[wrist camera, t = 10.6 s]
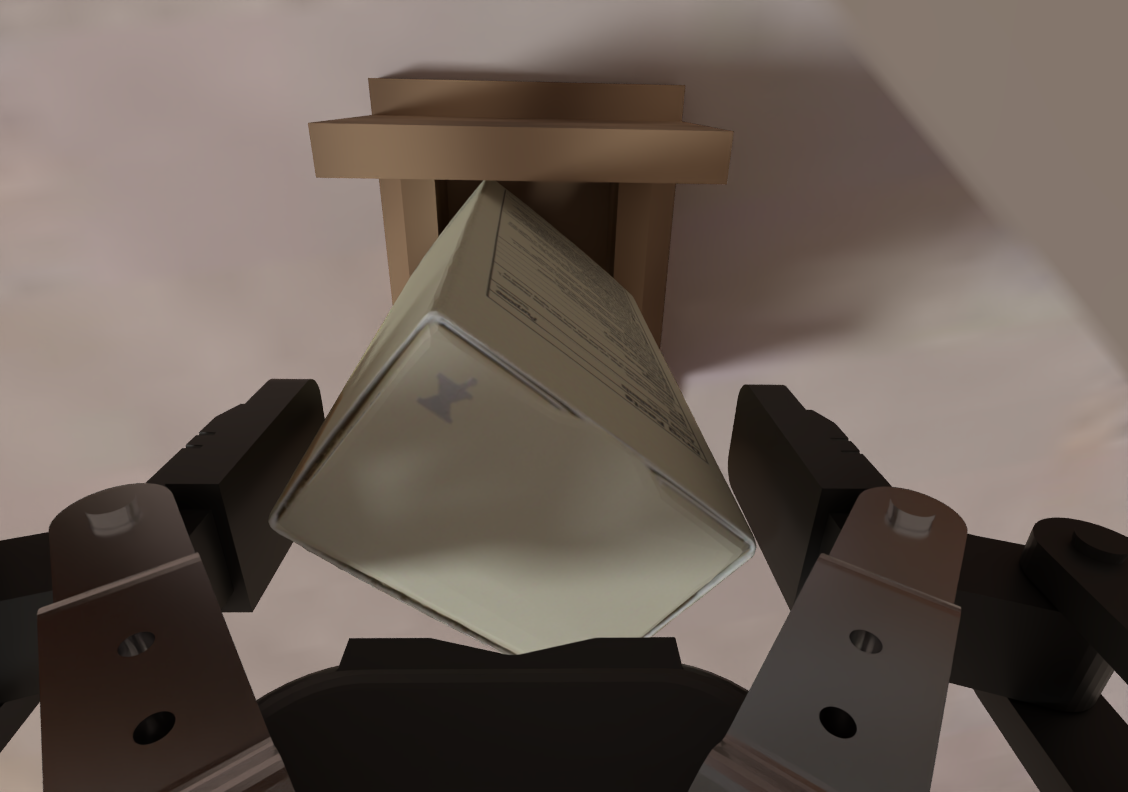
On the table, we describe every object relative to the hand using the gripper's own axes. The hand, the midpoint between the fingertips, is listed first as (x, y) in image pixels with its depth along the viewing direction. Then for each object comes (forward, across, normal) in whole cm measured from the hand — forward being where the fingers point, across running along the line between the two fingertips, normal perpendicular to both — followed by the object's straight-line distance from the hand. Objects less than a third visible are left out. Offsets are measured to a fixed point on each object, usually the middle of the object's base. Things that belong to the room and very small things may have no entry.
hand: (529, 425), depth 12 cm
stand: (+12, 0, 0) cm, 12 cm away
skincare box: (+9, 0, 0) cm, 9 cm away
